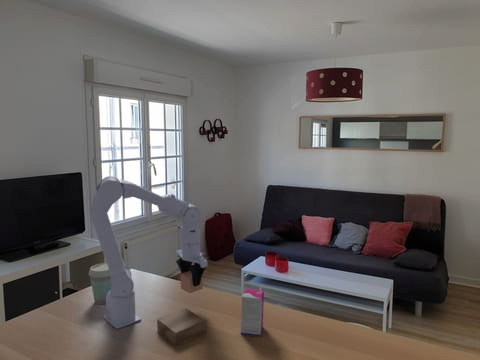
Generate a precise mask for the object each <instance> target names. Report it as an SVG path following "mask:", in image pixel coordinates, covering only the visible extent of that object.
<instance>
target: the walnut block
mask: <svg viewBox="0 0 480 360" xmlns="http://www.w3.org/2000/svg"><path fill="white" fill-rule="evenodd" d="M156 323H157V332H158V333H160V334H161V335H162V336H163V337H165V338H166V339H167V340H168V341H170V342H171V343H172V344H174V345H175V346H178V345H180V344H183V343H185V342H187V341H189V340H192V339H194V338H196V337H198V336H201V335H203V334H206V332H207V329H206V328H207V326H206V324H207V323H206V319H203V318H202V317H201V316H199V315H198V314H196V313H195V312H193V311H191V310H189V309H188V308H183V309H181V310H178V311H175V312H172V313H169V314H168V315H167V314H166V315H164V316H163V317H159V318H157V320H156Z"/></svg>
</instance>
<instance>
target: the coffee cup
mask: <svg viewBox="0 0 480 360" xmlns="http://www.w3.org/2000/svg"><path fill="white" fill-rule="evenodd" d="M88 276H89V278H90V279H89V280H90V283H91V284H90V285H91V291H92V295H93V299H94V303H95V304H96V305H99V306H100V305H101V306H103V305H106V296H107V293H108V292H109V291H110V290H111V286H112V285H111V278H110V272H109V268H108V265H107V262H106V263H97V264H95V265H92V266H91V267H90V268H89V271H88Z"/></svg>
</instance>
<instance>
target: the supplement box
mask: <svg viewBox="0 0 480 360" xmlns="http://www.w3.org/2000/svg"><path fill="white" fill-rule="evenodd" d="M264 299H265V291H264V290H262V289H261V290H259V289H252V288H251V289H250V288H246V289H245V290H244V292H243V294H242V296H241V316H240V317H241V319H240V320H241V321H240V335H241V336H252V337H261V333H262V330H263V328H264V303H265V302H264Z"/></svg>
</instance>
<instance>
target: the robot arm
mask: <svg viewBox="0 0 480 360" xmlns="http://www.w3.org/2000/svg"><path fill="white" fill-rule="evenodd" d="M93 194H94V195H93V197H92V199H91V202H90V206H89V211H88V212H89V216H90V218H91V221H92V224H93V227H94V230H95V233H96V235H97V238H98V241H99V244H100V247H101V250H102V253H103V256H104V259H105V261H106V263H107V265H108V268H109V272H110V278H111V285H112V286H111V290H110V291H109V292H108V293H107V296H106V304H105V305H106V306H105V309H106V315H104V316H103V318H104V320H106V321H107V322H108V323H109V324H110V325H111V326H113V327H114V328H115V329H117V330H118V329H119V330H120V328H123V327H124V328H125V327H126V326H128V325H133V324H135V323H137V322H140V321H142V318H141V317H139V316H138V315H137V314H136V298H135V297H136V295H135V291H136V290H135V288H134V287H135V285H134V281H133V278H132V277H133V276H132V272H131V269H129V268H128V267H127V266H126V263H125V261H124V259H123V256H122V252H121V250H120V247H119V244H118V242H117V239H116V235H115V231H114V229H113V227H112V223H111V220H110V217H109V215H108V212H109V211H110V209H111V207H112V206H113V205H114V204H115V203H117V202H118V201H119V200H120V199H121V198H123V200H124V199H129V198H135V199H138V200H141V201H144V202H146V203H149V204H151V205H155V206H157V208H158V211H159V212H160V213H163V214H165V215H168V216H169V217H172V218H175V219H177V220H179V219H180V220H181V249H178V250H176V251H175V256H176V257H177V258H179V259H176V260H175V261H176V264H177V266H178V268H179V270H180V274H181V273H184V272H188V271H191V274H192V281H193V286H194V287H195V286H198V285H200V282H201V278H202V279H203V274H204V272H205V270H206V269H207V267H208V260H207V259H205V258H204V257H203V254H204V253H203V252H201V231H200V230H201V229H200V222H201V220H202V219H203V215H202V212H201V210H200V209H199V208H198V207H196V205H194V204H192V202H189V201H187V200H185V201H184V200H182V199H180V198H177V197H176V195H174V193H171V194H165V195H159V194H158V193H155V192H153V191H151V190H148V189H146V188H144V187H143V186H140V185H138V184H135V182H134V183H133V182H131V181H128V180H125V179H121V178H120V179H118V178H117V177H115V176H111V175H110V176H105V177H104V178H102V179H101V180H100V182H99V183H98V184H97V186H96V187H95V191H94V193H93Z"/></svg>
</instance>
